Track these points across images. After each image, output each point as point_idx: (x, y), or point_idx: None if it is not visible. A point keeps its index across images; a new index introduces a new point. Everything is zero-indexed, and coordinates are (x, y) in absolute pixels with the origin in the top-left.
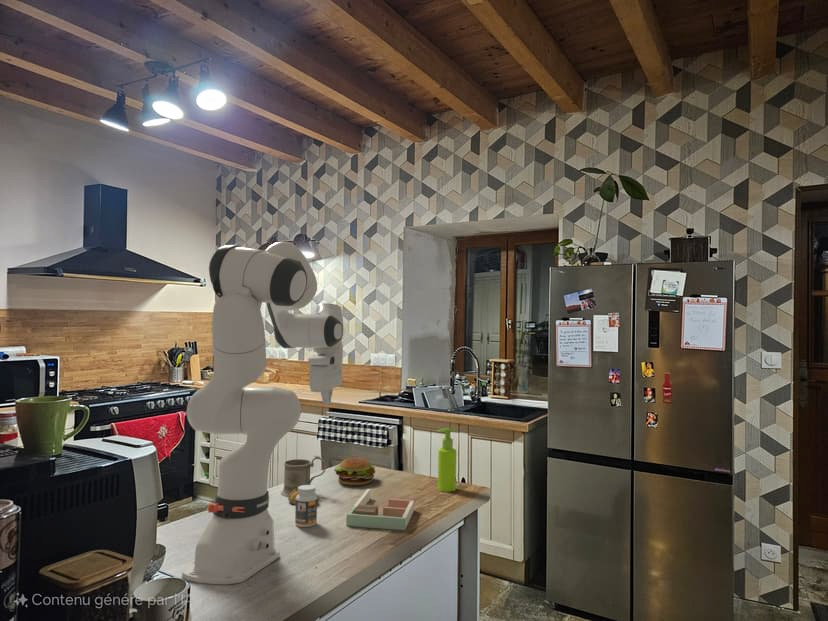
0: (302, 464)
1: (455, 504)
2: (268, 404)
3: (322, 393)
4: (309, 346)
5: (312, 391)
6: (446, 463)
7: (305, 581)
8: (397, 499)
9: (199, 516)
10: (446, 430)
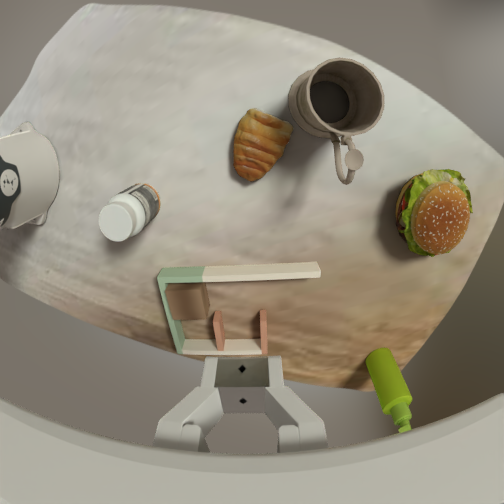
0: (376, 102)
1: (308, 378)
2: None
3: (164, 427)
4: None
5: (2, 401)
6: (378, 393)
7: (27, 272)
8: (265, 333)
9: (129, 10)
10: None
